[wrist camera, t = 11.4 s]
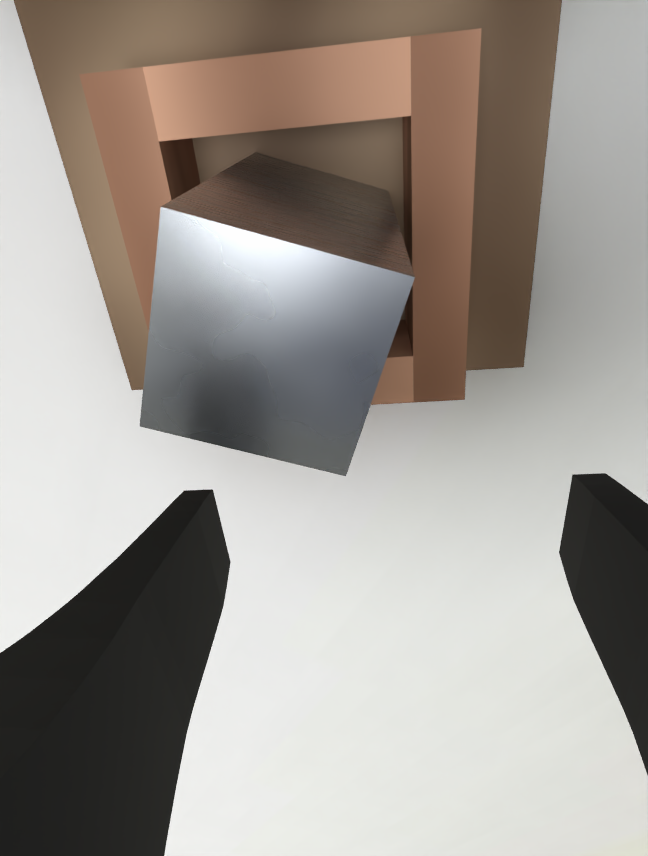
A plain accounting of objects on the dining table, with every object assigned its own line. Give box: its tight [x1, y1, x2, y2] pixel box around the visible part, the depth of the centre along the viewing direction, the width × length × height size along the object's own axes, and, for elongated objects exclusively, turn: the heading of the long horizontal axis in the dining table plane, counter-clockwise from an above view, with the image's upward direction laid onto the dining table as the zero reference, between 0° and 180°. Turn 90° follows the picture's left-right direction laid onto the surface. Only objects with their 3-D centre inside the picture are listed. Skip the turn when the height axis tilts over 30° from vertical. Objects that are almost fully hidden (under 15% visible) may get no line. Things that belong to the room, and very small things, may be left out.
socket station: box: [14, 0, 562, 405], centre depth 12 cm, size 14×16×11 cm
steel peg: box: [140, 152, 415, 476], centre depth 13 cm, size 4×4×9 cm
